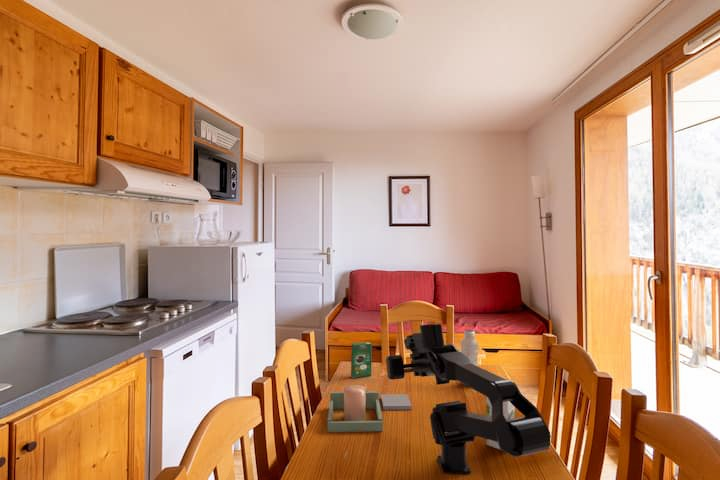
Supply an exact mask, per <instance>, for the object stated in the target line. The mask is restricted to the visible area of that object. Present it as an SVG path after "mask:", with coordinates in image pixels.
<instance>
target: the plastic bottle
mask: <svg viewBox="0 0 720 480" xmlns="http://www.w3.org/2000/svg"><path fill="white" fill-rule="evenodd" d="M463 336H464V337H463V338H462V339H461V341H460V344H459V345H460V346H459V347H460V352H461V353H463V354H464V355H465V356H467V357H468V358H469V361H470V363H471V364H473V365H475V366H478V356H479V355H478V354H479V342H478V341H477V340H476V338H475V336H476V331H475V330H473V329H465V330H464V334H463Z"/></svg>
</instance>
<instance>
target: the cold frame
mask: <svg viewBox="0 0 720 480" xmlns="http://www.w3.org/2000/svg"><path fill="white" fill-rule="evenodd" d="M379 395H380V393H379V391H366V409H375V412H376V419H377V420H365V421H345V420H343V421H342V420H340V421H337V420H335V421H334V420H333V417H334V410H341V409H342V410H344V391H330V392H329V407H328V413H327V414H328V416H327V432H328V433H342V432H343V433H347V432H348V433H351V432H352V433H357V432H362V433H363V432H383V429H384V428H383V427H384V424H383V423H384V422H383V415H382V408H381V404H380V396H379Z"/></svg>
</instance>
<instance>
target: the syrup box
mask: <svg viewBox="0 0 720 480" xmlns="http://www.w3.org/2000/svg"><path fill="white" fill-rule="evenodd" d="M485 398H486V407H485V408H486V409H485V410H486V411H485V413H486V414H485V415H487V416H492V405H491V403H490V401H489V399H488V397H486V396H485ZM503 415H504V417H505V419H514V418H516V407H514V406H513V405H512V404H511V403H510V401H507V402H503ZM485 445H487V446H489V447H491V448H495V449H497V450H501V449H500V447H499V445H498V442H495V441H492V440H488V439H485ZM501 451H502V450H501Z"/></svg>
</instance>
